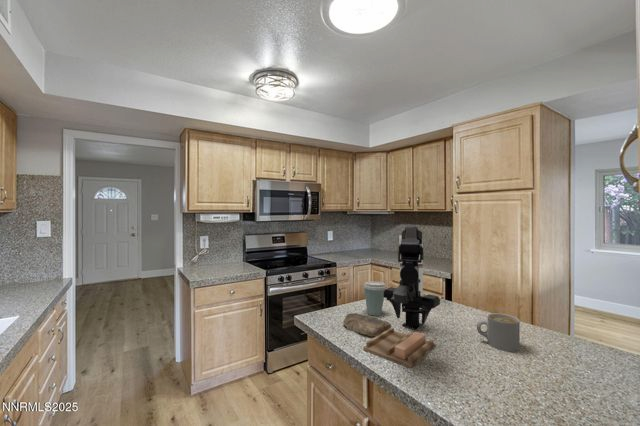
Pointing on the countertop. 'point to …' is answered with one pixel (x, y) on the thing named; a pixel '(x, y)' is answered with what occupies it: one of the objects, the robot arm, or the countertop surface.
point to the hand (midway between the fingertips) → (410, 321)
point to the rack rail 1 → (379, 337)
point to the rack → (388, 341)
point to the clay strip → (409, 345)
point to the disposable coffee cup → (374, 297)
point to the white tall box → (419, 268)
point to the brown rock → (365, 324)
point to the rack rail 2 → (420, 351)
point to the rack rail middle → (392, 348)
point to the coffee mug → (501, 331)
